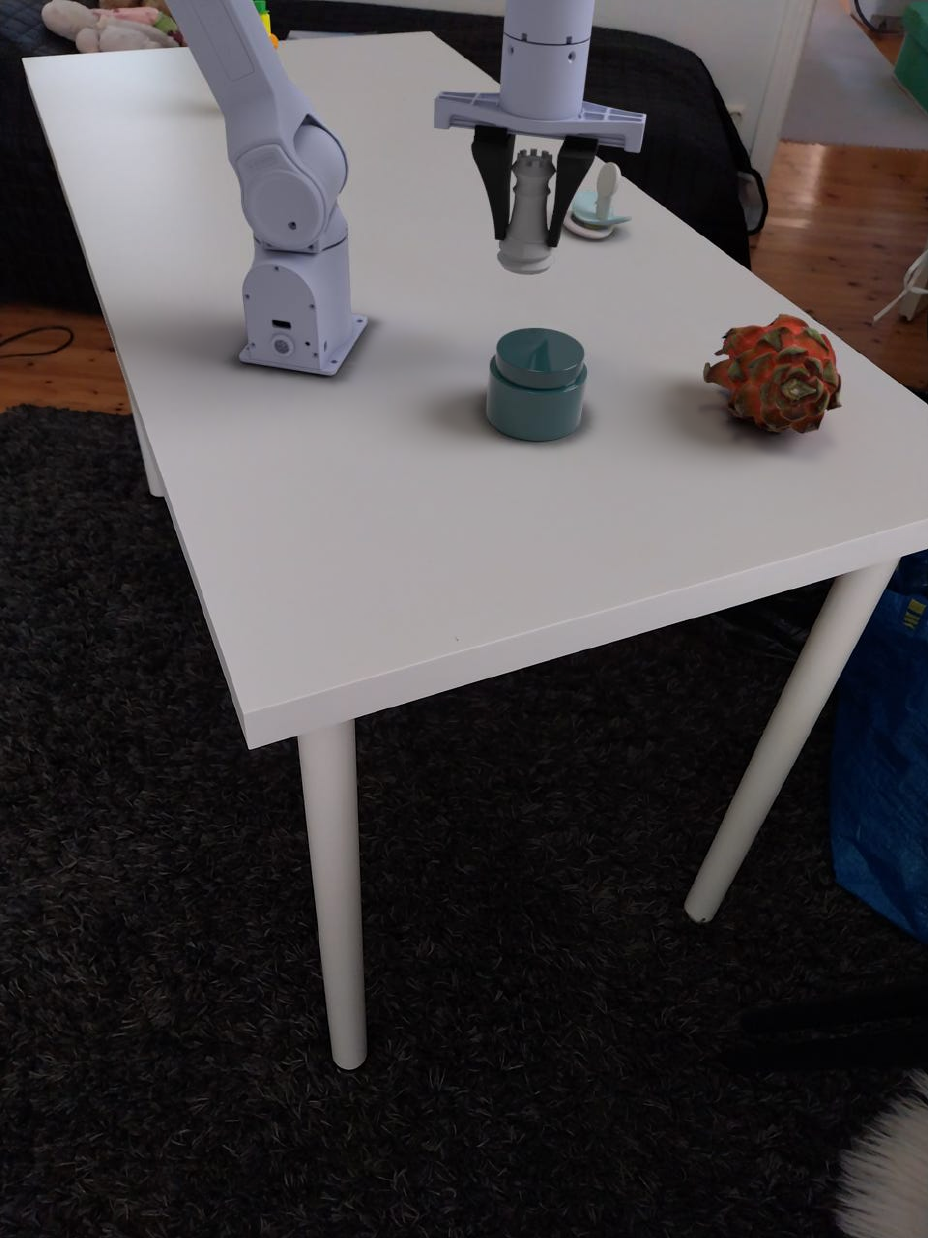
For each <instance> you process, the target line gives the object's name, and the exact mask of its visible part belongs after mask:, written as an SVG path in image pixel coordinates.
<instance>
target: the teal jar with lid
mask: <svg viewBox="0 0 928 1238" xmlns="http://www.w3.org/2000/svg"><path fill="white" fill-rule="evenodd" d="M585 354H586V353H585V349H584V347H583V345H582V344H581V342H579V340H577V338H574V336H572V335H570V334H567V333H565V332H564V331H563V332H562V331H560V330H556V329H552V328H545V327H525V328H519V329H514V330H512V331H509V332H507V333H505V334H504V335H503V336H501V337H500V338H499V339H498V341H497V342H496V346H495V353H494V354H493V356H492V357H491V358H490V360H489V365H488V379H487V393H486V409H485V414H486V418H487V419H488V422H489V423H490V424H491V425H492V426H493V427H494V428H495V429H496V430H498V431H499V432H501V434H502V433H503V434H504V435H507V436H509V437H512V438H514V439H519V440H523V441H528V442H529V441H530V442H545V441H546V442H549V441H554V440H558V439H562V438H564V437H567V436H569V435H571V433H573V432H575V430H576V429H577V428H578V427H579V425H580V422H581V418H582V413H583V412H582V411H583V405H584V398H585V391H586V386H587V379H588V368H587V366H586V364H585V362H584V361H585Z"/></svg>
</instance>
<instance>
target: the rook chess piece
mask: <svg viewBox="0 0 928 1238" xmlns="http://www.w3.org/2000/svg"><path fill="white" fill-rule="evenodd" d="M529 151H530V153H529V155H528V153H527V152H528V150H527V149H525V148H524V149H521V150H519V152H517V154H516V160H515V161H513V163H512V166H511V169H512V174H513V175H514V177H515V179H516V182H515V185H514V186H513V187H512V192H513V193H514V202H513V206H512V211H511V215H510V219H509V226H508V227H507V228H506V235H505V238H504V241H501V240H498V249H499V251H498V252H497V253H496V259H497V261H498V263H499V264H500V266H501V267H502V268H503V269H504V270H506V271H508V272H510V273H513V274H518V275H523V276H524V275H525V276H534V275H540V274H542V273H543V274H544V273H545V272H547V271H548V270H549V269H550V267H552V266H553V264H554V263H555V256H554V254H553V253H554V252H555V251H556V248H554V247H547V246H548V234H549V227H548V225H549V224H548V199H549V196H550V194H551V193H552V191H551V188H550V186H549V183H550V180H551V179H552V178H553V177H554V175H556V168H557V167H556V166H555V165H554V163H553V154H552V153H550V152H549V150H545V149H543V150H541V154H540V155H538V148H533V147H532V148H530V150H529Z"/></svg>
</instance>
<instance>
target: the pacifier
mask: <svg viewBox="0 0 928 1238" xmlns="http://www.w3.org/2000/svg"><path fill="white" fill-rule="evenodd" d="M596 179H597V180H596V191H594V190H591V189H590V190H583V191H580V192H579V193H576V194H575V196H574V198H573V200H572V202H571V209H572V210H570V211H567V213H566V216H565V219H564V222H563V225H564V226H565V227H566V228H567V229H568V230H569V231H570V232H573V233H574V234H576V235H578V236H581V237H584V238H589V239H603V238H606V237H608V236H609V235H610V234H611V233H612V232H613V229H614V225H620V224H625V223H627V222H630V221H633V216H631V215H630V216H628V215H627V216H626V215H615V214H614V208H613V206H612V205H613V198H614V197H613V196H614V195H615V193H616V192H617V191H618V189H619V188H620V185H621V181H622V173H621V169H620V167H619V166H618V165H617V164H616V163H614V162H611V161H609V162H606V163H605V164H604V165H602V166H601V168H600V171H599V173H598V175H597V178H596ZM575 219H578V221H581V222H583V223H584V227H582V226H580V225H578V224H577V223H575V222H574V221H573V220H575Z"/></svg>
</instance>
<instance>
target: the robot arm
mask: <svg viewBox="0 0 928 1238" xmlns="http://www.w3.org/2000/svg"><path fill="white" fill-rule="evenodd" d="M253 1H254V0H164V2H165V5H166V6H167V8H168V10H169V12H170V14H171V16H172V18H173V20H174V22H175V24H176V26H177V28H178V29H179V32H180V34H181V35H182V37H183V39H184V41H185V44H186V45H187V47H188V49H189V51H190V53H191V55H192V57H193V59H194V61H195V62H196V65H197V67H198V68H199V70H200V72H201V75H202V76H203V78H204V80H205V82H206V84H207V86H208V88H209V90H210V92H211V94H212V95H213V98H214V100H215V102H216V104H217V105H218V107H219V109H220V112H221V113H222V115H223V118H224V124H225V126H224V127H225V139H226V148H227V149H226V150H227V159H228V162H229V164H230V166H231V167H232V169H233V172H234V173H235V175H236V178H237V181H238V184H239V190H240V205H241V210H242V214H243V216H244V219H245V221H246V222H247V224H248V226H249V227H250V228H251V230H252V236H253V245H254V254H253V255H254V256H253V261H252V263H251V267H250V268H249V270H248V271H247V273H246V275H245V277H244V279H243V282H242V288H241V296H242V303H243V311H244V320H245V328H246V336H247V344H246V345H245V347H244V348H243V349H242V350H241V352H240V353H239V355H238V359H239V360H240V362H243V363H249V364H254V365H255V364H256V365H261V366H267V367H274V368H279V369H286V370H292V371H299V372H304V373H311V374H316V375H317V374H318V375H325V376H333V375H334V376H335V375H336V373H338V371H339V369H340V367H342V364H343V362H344V361H345V359H346V357H348V354H349V353H350V351H351V350H352V349H353V347H354V345H355V344H356V342H357V340H358V339H359V337H360V335H361V334H362V332H363V330H364V329H365V328H366V326H367V325H368V317H367V316H365V315H359V314H353V313H352V302H351V276H350V275H351V274H350V273H351V272H350V250H349V224H348V221H347V219H346V217H345V216H344V214H343V213H342V210H341V208H340V205H339V203H338V197H339V195H340V194H341V193H342V192H343V190H344V188H345V187H346V184H347V182H348V178H349V174H350V160H349V156H348V151H347V150H346V148H345V146H344V142H343V141H342V140H341V138H340V137H339V136H338V135H337V133H336V132H335V131H333V130H332V129H331V128H330V127H329V126H328V125H327V124H325V122H324V121H323V120H322V119H321V118H320V117H319V115H318V114H317V112H316V110H315V108H314V106H313V104H312V101H311V100H310V98H309V96H308V95H307V94H306V93H305V92H304V91H303V90H302V89H301V88H300V87H298V85H296V84H295V83H294V82H293V81H292V80H291V79H290V78H289V76H288V73H286V69H285V67H284V66H283V63H282V61H281V59H280V57H279V55H278V53H277V50H275V48H274V46H273V44H272V42H271V39H270V37H269V35H268V33H267V31H266V29H265V26H264V24H263V22H262V20H261V18H260V16H259V13H258V11H257V9H256V7H255V5H254V3H253ZM595 1H596V0H505V5H504V17H503V19H504V20H503V36H502V48H501V49H502V50H501V68H500V83H499V91H498V92H489V91H487V92H486V91H485V92H482V91H481V92H479V91H475V92H474V91H469V92H467V91H448V90H440V91H439V93H438V94H437V95H436V97H435V98H434V104H433V106H434V107H433V109H434V110H433V128H434V129H439V130H449V129H451V128H458V129H467V130H474V133H473V138H472V139H473V140H472V142H471V144H470V150H471V151H470V152H471V156H472V159H473V160H474V163H475V165H476V167H477V169H478V172H479V174H480V177H481V179H482V183H483V185H484V188H485V191H486V195H487V198H488V199H487V200H488V202H489V203H488V204H489V206H490V211H491V216H492V223H493V233H494V240H496V241H500V240H501V241H504V238H505V235H506V228H507V227H508V226H509V223H510V220H511V182H512V181H511V180H512V173H513V171H512V169H511V166H512V165H513V164H514V153H515V146H516V138H517V136H524V137H533V138H542V139H548V140H549V139H550V140H558V141H563V142H562V145H561V146H560V148H559V150H558V153H557V156H556V167H555V168H556V173H555V183H554V185H555V186H554V199H553V208H552V213H551V218H550V223H549V227H548V229H549V234H548V246H547V247H554V248H555V249H556V248H558V245H559V242H560V240H561V236H562V230H563V225H564V223H563V222H564V219H565V216H566V213H567V212H569V208H570V206H571V205H572V202H573V199H574V198H575V196H576V195H577V192H578V190H579V188H580V186H581V184H582V183H583V181H584V180H585V178H586V176H587V175H588V173H589V170H590V169H591V167H592V166H593V164H594V161H595V159H596V156H597V153H598V149H599V147H600V146H607V147H615V148H623V150H624V151H625V152H629V153H637V154H639V153H640V152H641V148H642V144H643V138H644V132H645V126H646V120H647V114H646V113H639V112H633V111H627V110H622V109H617V108H614V107H609V106H605V105H600V104H598V103H597V104H596V103H592V102H589V101H584V100H583V99H584V92H585V85H586V84H585V83H586V75H587V68H588V67H587V66H588V58H589V50H590V43H591V36H592V29H593V19H594V10H595V3H596V2H595Z"/></svg>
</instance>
